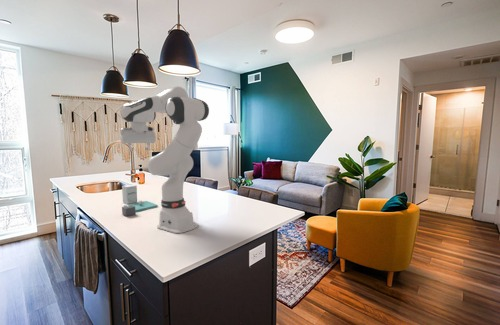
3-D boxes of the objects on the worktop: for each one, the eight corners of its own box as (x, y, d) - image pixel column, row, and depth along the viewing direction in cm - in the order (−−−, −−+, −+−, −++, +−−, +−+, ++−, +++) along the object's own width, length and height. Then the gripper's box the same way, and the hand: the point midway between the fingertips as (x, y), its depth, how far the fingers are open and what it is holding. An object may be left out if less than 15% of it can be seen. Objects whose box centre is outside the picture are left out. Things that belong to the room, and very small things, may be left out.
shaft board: (157, 206, 162) (157, 200, 161) (134, 212, 150) (133, 205, 149) (146, 202, 172) (146, 196, 171) (123, 207, 160) (123, 201, 159)
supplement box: (127, 204, 166) (126, 187, 165) (122, 202, 171) (121, 185, 170) (137, 202, 172) (136, 185, 171) (132, 200, 177) (131, 184, 175)
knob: (135, 214, 146) (135, 206, 145) (126, 216, 141) (125, 208, 141) (131, 212, 149) (131, 204, 149) (122, 214, 145) (121, 206, 144)
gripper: (122, 127, 133) (123, 151, 135) (156, 128, 149) (157, 150, 150) (118, 127, 137) (119, 151, 139) (151, 128, 153) (152, 149, 154)
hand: (139, 150), depth 145 cm, fingers open, 8 cm apart
